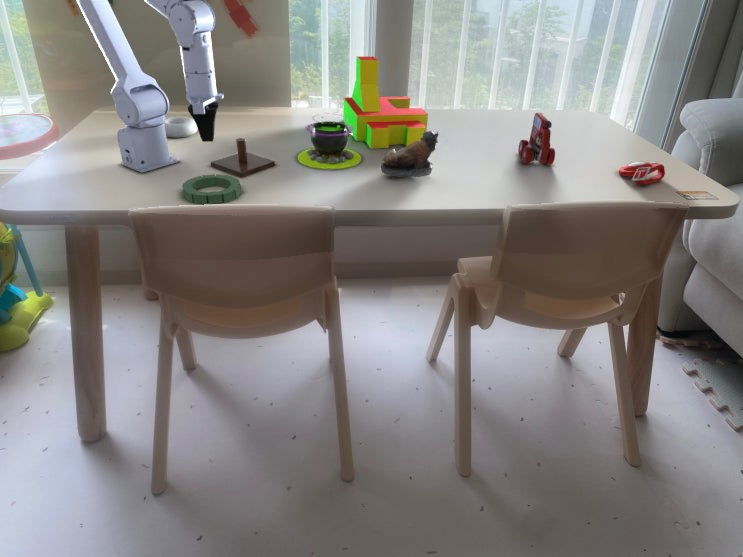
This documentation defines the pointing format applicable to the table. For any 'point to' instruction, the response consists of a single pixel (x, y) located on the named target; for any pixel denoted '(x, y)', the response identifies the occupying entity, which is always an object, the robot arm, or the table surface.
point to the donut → (179, 127)
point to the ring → (211, 197)
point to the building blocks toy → (380, 111)
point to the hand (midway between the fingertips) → (208, 140)
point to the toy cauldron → (329, 146)
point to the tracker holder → (643, 171)
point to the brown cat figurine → (411, 158)
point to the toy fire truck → (538, 142)
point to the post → (242, 161)
